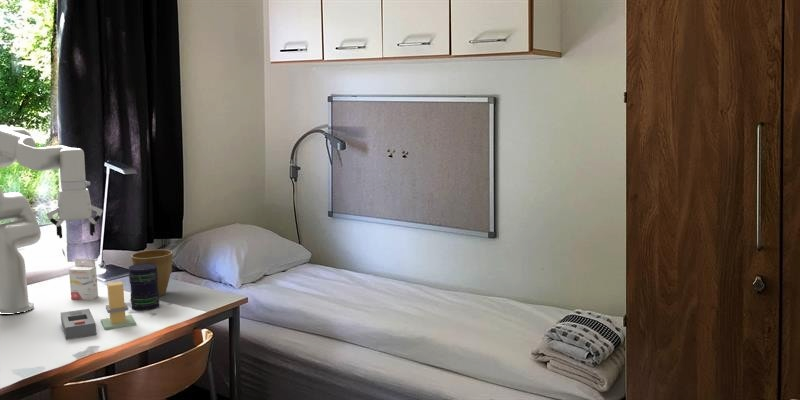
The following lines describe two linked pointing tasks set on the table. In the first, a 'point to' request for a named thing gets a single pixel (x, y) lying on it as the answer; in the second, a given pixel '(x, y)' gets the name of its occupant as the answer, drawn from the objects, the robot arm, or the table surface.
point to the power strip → (78, 324)
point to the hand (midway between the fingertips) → (76, 236)
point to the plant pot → (163, 265)
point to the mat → (109, 325)
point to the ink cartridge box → (83, 280)
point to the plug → (116, 302)
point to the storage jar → (144, 286)
